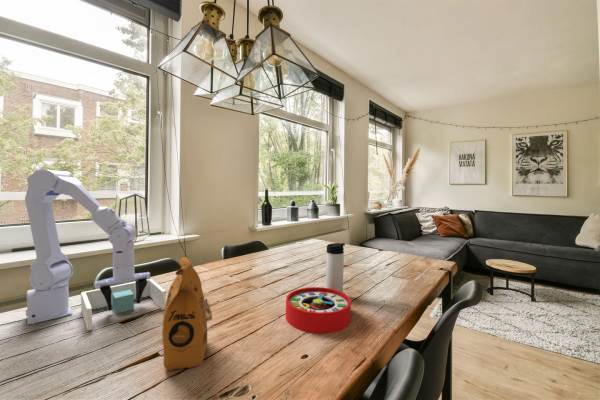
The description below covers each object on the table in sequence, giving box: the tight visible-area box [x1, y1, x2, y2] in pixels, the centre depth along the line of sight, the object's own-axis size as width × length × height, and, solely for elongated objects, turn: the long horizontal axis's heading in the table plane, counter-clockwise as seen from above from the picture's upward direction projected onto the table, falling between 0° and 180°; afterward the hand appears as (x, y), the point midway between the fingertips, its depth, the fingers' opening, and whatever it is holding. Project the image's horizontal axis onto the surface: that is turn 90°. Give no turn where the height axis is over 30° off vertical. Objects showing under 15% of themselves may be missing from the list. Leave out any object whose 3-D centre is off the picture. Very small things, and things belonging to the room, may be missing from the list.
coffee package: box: [161, 256, 208, 371], centre depth 63 cm, size 10×12×22 cm
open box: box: [80, 278, 167, 332], centre depth 86 cm, size 20×16×6 cm
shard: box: [204, 298, 212, 320], centre depth 85 cm, size 13×9×2 cm
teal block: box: [112, 290, 135, 314], centre depth 88 cm, size 5×5×5 cm
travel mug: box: [325, 242, 346, 293], centre depth 99 cm, size 6×7×20 cm
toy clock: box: [285, 286, 352, 335], centre depth 84 cm, size 20×6×20 cm
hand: (124, 305), depth 86 cm, fingers open, 7 cm apart
